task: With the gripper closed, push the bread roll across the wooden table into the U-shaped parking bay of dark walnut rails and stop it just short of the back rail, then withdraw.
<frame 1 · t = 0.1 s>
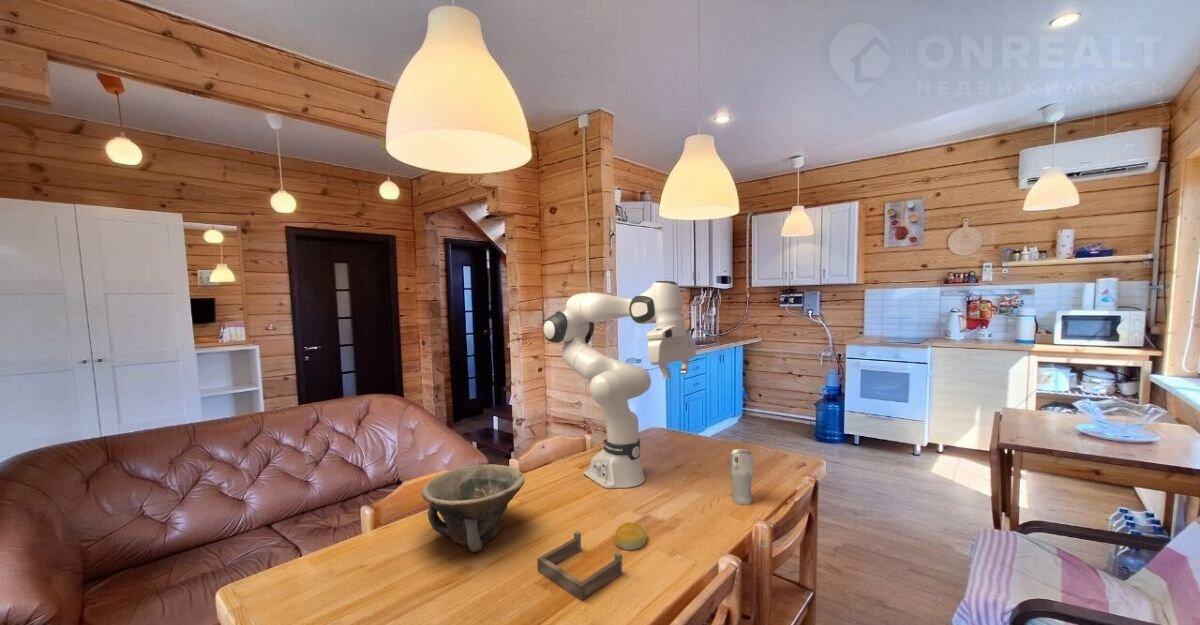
hand: (676, 376, 136), 39 cm above the table, tool pointing down, fingers open, 8 cm apart
beer glass: (742, 501, 135), on the table
bread roll: (630, 542, 115), on the table
bay: (588, 566, 104), on the table
bowl: (477, 533, 121), on the table
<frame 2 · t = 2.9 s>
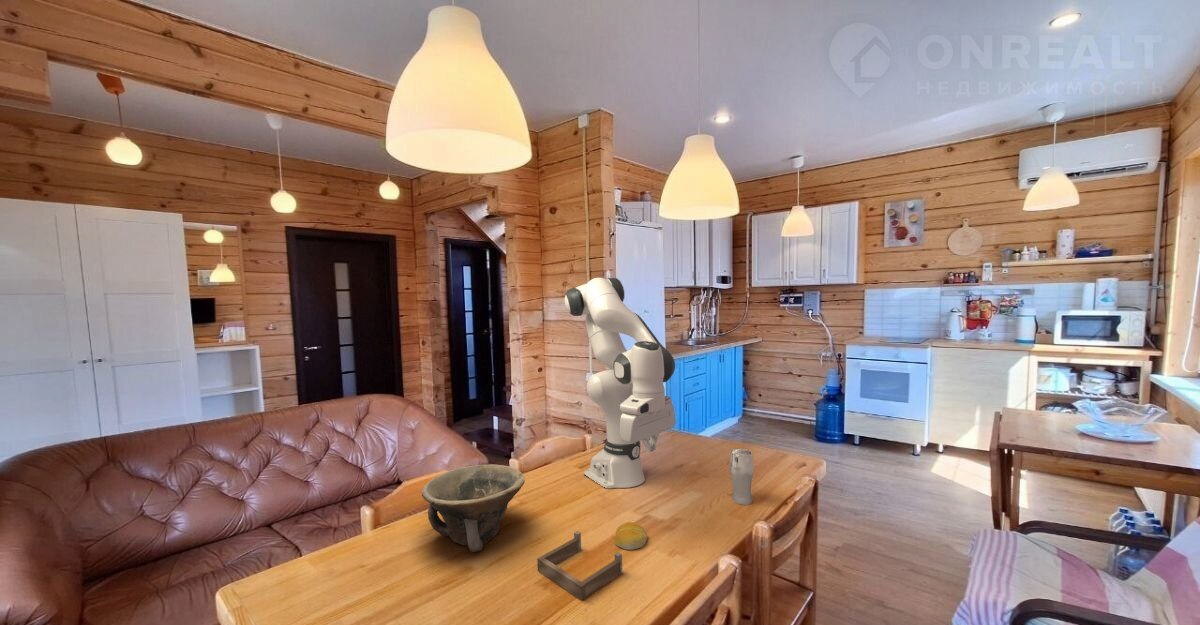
hand: (650, 451, 121), 21 cm above the table, tool pointing down, fingers closed
nothing on the table moved.
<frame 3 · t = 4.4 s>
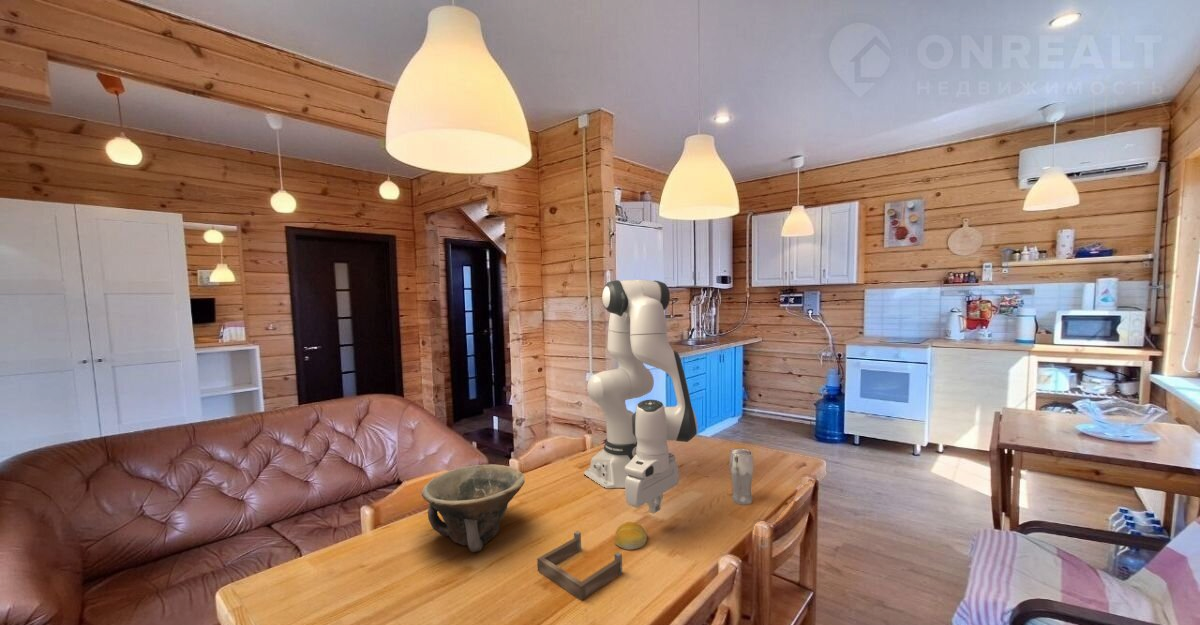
hand: (655, 511, 120), 5 cm above the table, tool pointing down, fingers closed
nothing on the table moved.
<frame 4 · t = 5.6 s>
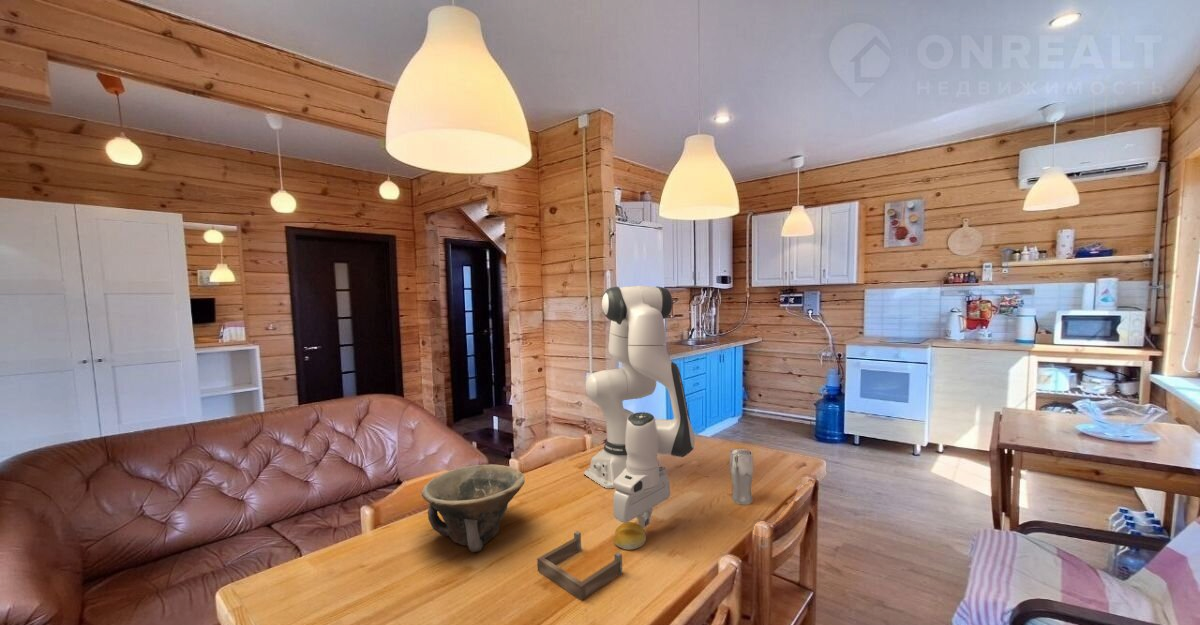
hand: (644, 525, 119), 2 cm above the table, tool pointing down, fingers closed
bread roll: (629, 541, 115), on the table, touching gripper
everything else where it was.
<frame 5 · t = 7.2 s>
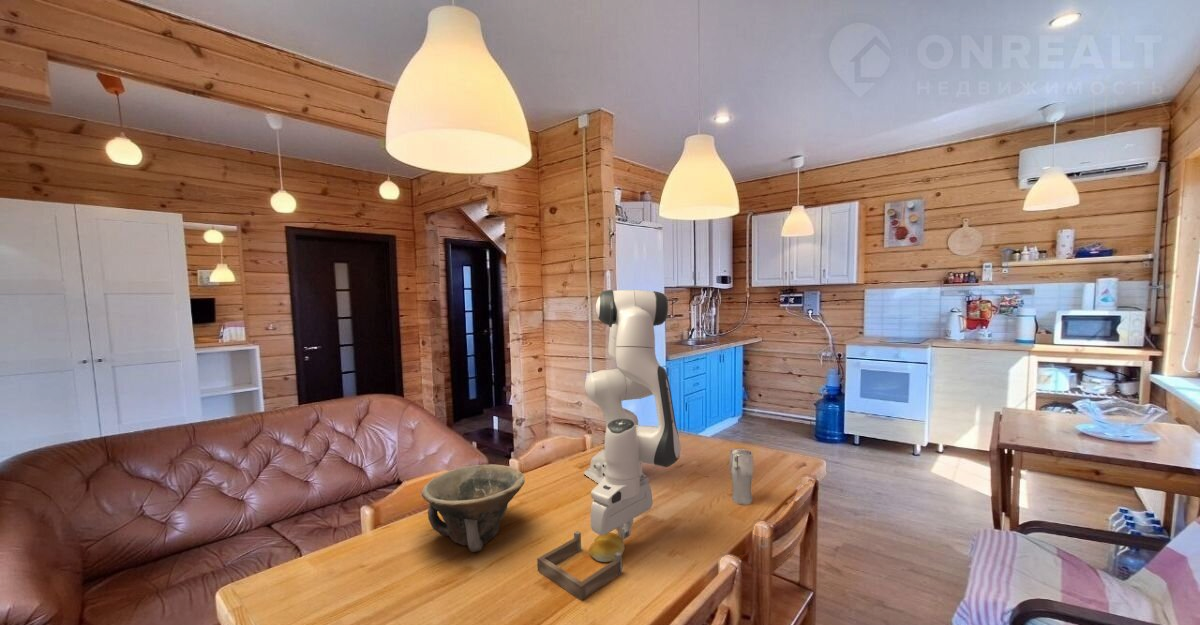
hand: (624, 537, 113), 2 cm above the table, tool pointing down, fingers closed
bread roll: (607, 553, 110), on the table, touching gripper
everything else where it was.
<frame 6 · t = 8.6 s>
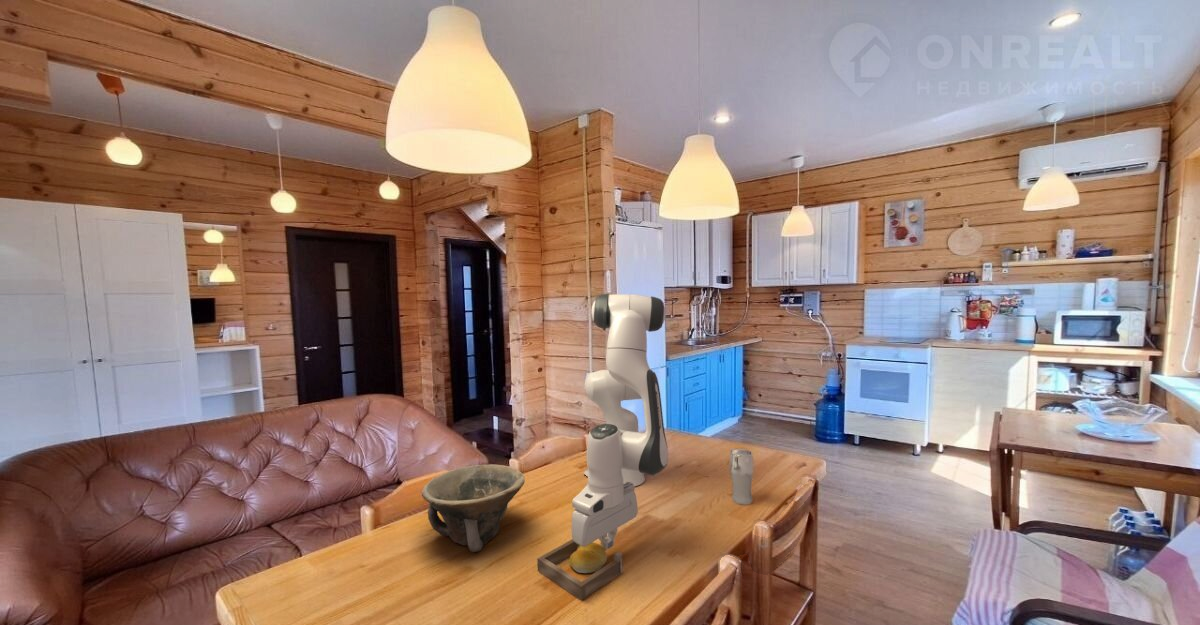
hand: (607, 547, 109), 2 cm above the table, tool pointing down, fingers closed
bread roll: (588, 564, 105), on the table, touching gripper
everything else where it was.
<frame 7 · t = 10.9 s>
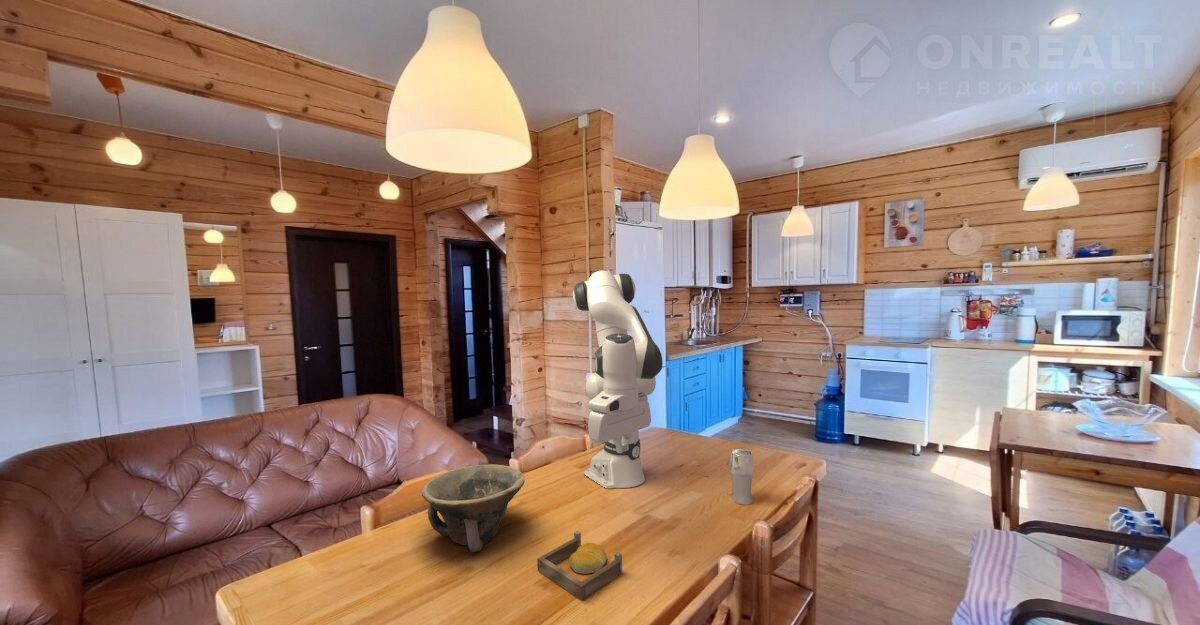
hand: (622, 451, 113), 24 cm above the table, tool pointing down, fingers closed
bread roll: (588, 564, 106), on the table
everything else where it was.
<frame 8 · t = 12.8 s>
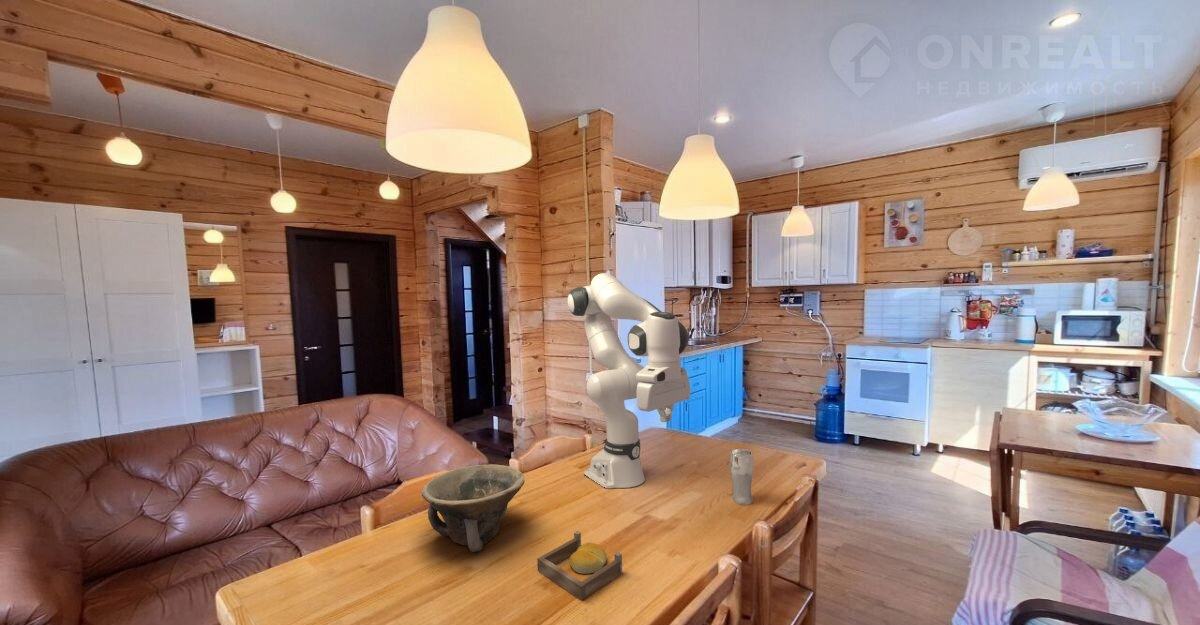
hand: (665, 421, 121), 29 cm above the table, tool pointing down, fingers closed
nothing on the table moved.
at the end: bread roll inside the target area (3.7 cm from its centre), on the table; bread roll moved 14.1 cm from its start; the gripper is holding nothing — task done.
